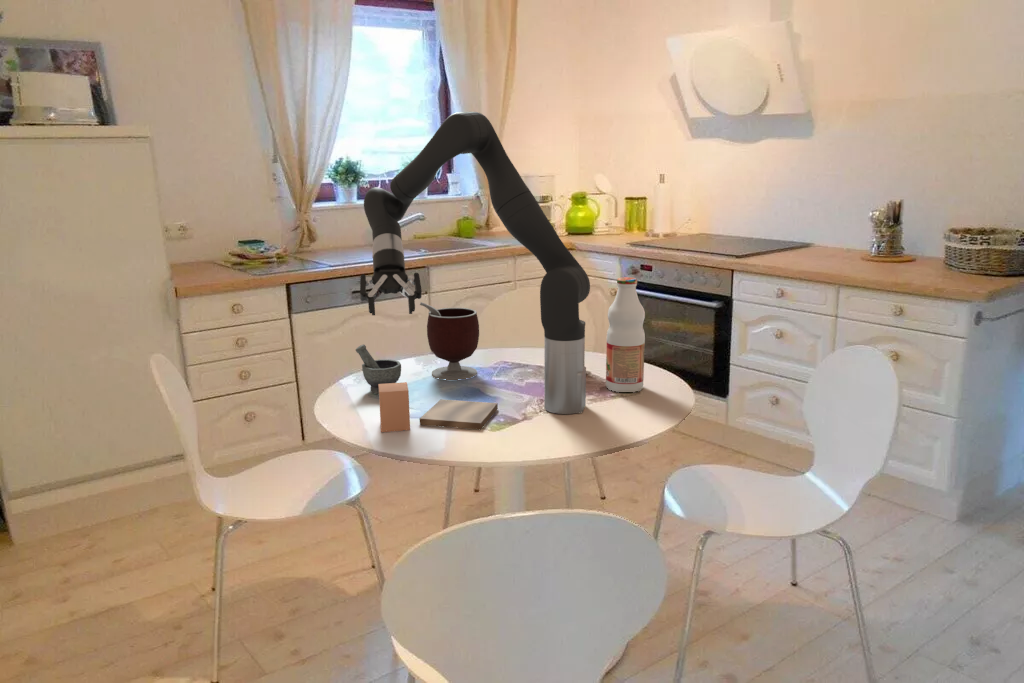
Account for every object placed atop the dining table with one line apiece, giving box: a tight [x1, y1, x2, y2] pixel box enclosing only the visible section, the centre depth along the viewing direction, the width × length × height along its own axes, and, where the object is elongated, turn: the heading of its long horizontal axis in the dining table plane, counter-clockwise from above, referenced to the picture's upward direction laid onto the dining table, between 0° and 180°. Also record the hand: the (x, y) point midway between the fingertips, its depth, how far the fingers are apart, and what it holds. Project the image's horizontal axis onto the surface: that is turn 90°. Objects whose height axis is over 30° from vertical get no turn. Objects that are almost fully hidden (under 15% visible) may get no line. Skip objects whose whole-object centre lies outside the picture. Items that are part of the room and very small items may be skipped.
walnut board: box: [419, 398, 498, 431], centre depth 175 cm, size 14×14×2 cm
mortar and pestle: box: [355, 344, 402, 395], centre depth 194 cm, size 11×9×12 cm
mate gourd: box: [419, 301, 480, 381], centre depth 207 cm, size 16×14×20 cm
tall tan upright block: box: [378, 381, 411, 433], centre depth 169 cm, size 6×6×9 cm
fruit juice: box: [605, 276, 646, 393], centre depth 192 cm, size 9×9×28 cm
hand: (392, 312), depth 179 cm, fingers open, 8 cm apart
